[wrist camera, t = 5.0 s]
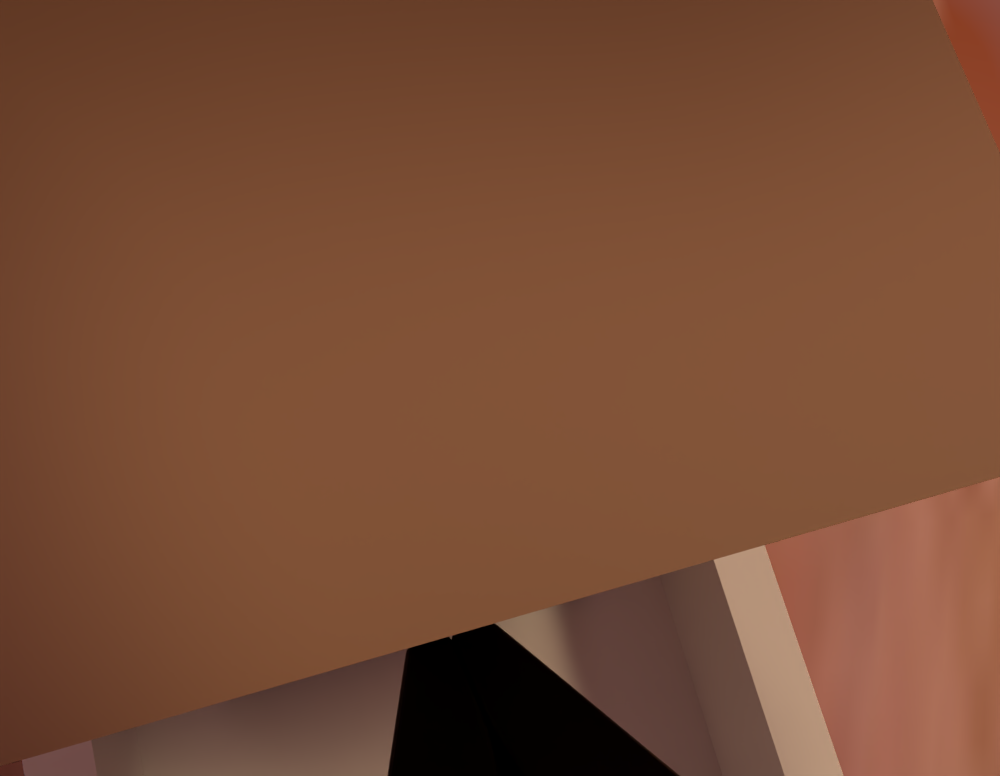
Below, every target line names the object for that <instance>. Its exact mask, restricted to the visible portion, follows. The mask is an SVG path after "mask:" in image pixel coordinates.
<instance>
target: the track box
mask: <svg viewBox="0 0 1000 776" xmlns="http://www.w3.org/2000/svg"><path fill="white" fill-rule="evenodd" d="M494 624H496V625H498V626H499V627H500V628H502V629H503V630H504V631H505V632H506V633H508V634H509V635H510V636H511V637H513V638H514V639H515V640H516V641H517V642H519V643H520V644H521V645H522V646H523V647H525V648H526V649H527V650H528V651H529V652H531V653H532V654H533V655H534V656H536V657H537V658H538V659H539V660H540V661H542V662H543V663H544V664H545V665H546V666H548V667H549V668H550V669H551V670H553V671H554V672H555V673H556V674H557V675H559V676H560V677H561V678H562V679H563V680H565V681H566V682H567V683H568V684H570V685H571V686H572V687H573V688H574V689H576V690H577V691H578V692H579V693H580V694H582V695H583V696H584V697H585V698H586V699H588V700H589V701H590V702H591V703H593V704H594V705H595V706H596V707H597V708H599V709H600V710H601V711H602V712H603V713H605V714H606V715H607V716H608V717H610V718H611V719H612V720H613V721H614V722H616V723H617V724H618V725H619V726H620V727H622V728H623V729H624V730H625V731H626V732H628V733H629V734H630V735H631V736H633V737H634V738H635V739H636V740H637V741H639V742H640V743H641V744H642V745H643V746H645V747H646V748H647V749H648V750H650V751H651V752H652V753H653V754H654V755H656V756H657V757H658V758H659V759H660V760H662V761H663V762H664V763H665V764H667V765H668V766H669V767H670V768H671V769H673V770H674V771H675V772H676V773H677V774H679V775H680V776H843V773H842V770H841V767H840V764H839V761H838V758H837V755H836V753H835V750H834V747H833V744H832V741H831V738H830V735H829V732H828V729H827V726H826V723H825V720H824V717H823V715H822V712H821V709H820V706H819V703H818V700H817V697H816V694H815V691H814V688H813V685H812V682H811V680H810V677H809V674H808V671H807V668H806V665H805V662H804V659H803V656H802V653H801V650H800V647H799V644H798V642H797V639H796V636H795V633H794V630H793V627H792V624H791V621H790V618H789V615H788V612H787V609H786V606H785V604H784V601H783V598H782V595H781V592H780V589H779V586H778V583H777V580H776V577H775V574H774V571H773V569H772V566H771V563H770V560H769V557H768V554H767V551H766V548H765V545H763V546H760V547H756V548H753V549H749V550H746V551H742V552H739V553H735V554H732V555H728V556H725V557H722V558H718V559H715V560H711V561H708V562H704V563H701V564H697V565H694V566H690V567H687V568H684V569H680V570H677V571H673V572H670V573H666V574H663V575H659V576H656V577H653V578H649V579H646V580H642V581H639V582H635V583H632V584H628V585H625V586H621V587H618V588H615V589H611V590H608V591H604V592H601V593H597V594H594V595H590V596H587V597H583V598H580V599H577V600H573V601H570V602H566V603H563V604H559V605H556V606H552V607H549V608H545V609H542V610H539V611H535V612H532V613H528V614H525V615H521V616H518V617H514V618H511V619H507V620H504V621H501V622H497V623H494ZM452 636H453V635H452ZM452 636H449V638H451V639H452ZM407 649H408V648H407ZM407 649H404V650H400V651H397V652H393V653H390V654H387V655H383V656H380V657H376V658H373V659H369V660H366V661H362V662H359V663H356V664H352V665H349V666H345V667H342V668H338V669H335V670H331V671H328V672H324V673H321V674H318V675H314V676H311V677H307V678H304V679H300V680H297V681H293V682H290V683H286V684H283V685H280V686H276V687H273V688H269V689H266V690H262V691H259V692H255V693H252V694H248V695H245V696H242V697H238V698H235V699H231V700H228V701H224V702H221V703H217V704H214V705H210V706H207V707H204V708H200V709H197V710H193V711H190V712H186V713H183V714H179V715H176V716H172V717H169V718H166V719H162V720H159V721H155V722H152V723H148V724H145V725H141V726H138V727H134V728H131V729H128V730H124V731H121V732H117V733H114V734H110V735H107V736H103V737H100V738H97V739H93V740H90V741H86V742H83V743H79V744H76V745H72V746H69V747H65V748H62V749H59V750H55V751H52V752H48V753H45V754H41V755H38V756H34V757H31V758H27V759H24V760H22V764H23V771H24V776H388V769H389V762H390V755H391V749H392V742H393V735H394V728H395V722H396V715H397V708H398V702H399V695H400V688H401V681H402V675H403V668H404V661H405V655H406V651H407Z"/></svg>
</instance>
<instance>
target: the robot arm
mask: <svg viewBox="0 0 1000 776" xmlns="http://www.w3.org/2000/svg"><path fill="white" fill-rule="evenodd" d="M388 776H680V775H679V774H677V773H676V772H675V771H674V770H673V769H671V768H670V767H669V766H668V765H667V764H665V763H664V762H663V761H662V760H660V759H659V758H658V757H657V756H656V755H654V754H653V753H652V752H651V751H650V750H648V749H647V748H646V747H645V746H643V745H642V744H641V743H640V742H639V741H637V740H636V739H635V738H634V737H633V736H631V735H630V734H629V733H628V732H626V731H625V730H624V729H623V728H622V727H620V726H619V725H618V724H617V723H616V722H614V721H613V720H612V719H611V718H610V717H608V716H607V715H606V714H605V713H603V712H602V711H601V710H600V709H599V708H597V707H596V706H595V705H594V704H593V703H591V702H590V701H589V700H588V699H586V698H585V697H584V696H583V695H582V694H580V693H579V692H578V691H577V690H576V689H574V688H573V687H572V686H571V685H570V684H568V683H567V682H566V681H565V680H563V679H562V678H561V677H560V676H559V675H557V674H556V673H555V672H554V671H553V670H551V669H550V668H549V667H548V666H546V665H545V664H544V663H543V662H542V661H540V660H539V659H538V658H537V657H536V656H534V655H533V654H532V653H531V652H529V651H528V650H527V649H526V648H525V647H523V646H522V645H521V644H520V643H519V642H517V641H516V640H515V639H514V638H513V637H511V636H510V635H509V634H508V633H506V632H505V631H504V630H503V629H502V628H500V627H499V626H498V625H496V624H490V625H487V626H483V627H480V628H476V629H473V630H469V631H466V632H463V633H459V634H456V635H453V636H452V639H451V638H449V637H445V638H442V639H438V640H435V641H431V642H428V643H425V644H421V645H418V646H414V647H411V648H408V649H407V651H406V655H405V661H404V668H403V675H402V681H401V688H400V695H399V702H398V708H397V715H396V722H395V728H394V735H393V742H392V749H391V755H390V762H389V769H388Z"/></svg>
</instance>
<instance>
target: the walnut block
mask: <svg viewBox="0 0 1000 776" xmlns="http://www.w3.org/2000/svg"><path fill="white" fill-rule="evenodd" d="M998 477H1000V152H999V150H998V148H997V146H996V143H995V141H994V139H993V136H992V134H991V132H990V130H989V128H988V125H987V123H986V121H985V118H984V116H983V114H982V111H981V109H980V107H979V105H978V102H977V100H976V98H975V96H974V93H973V91H972V89H971V87H970V84H969V82H968V80H967V78H966V75H965V73H964V71H963V69H962V66H961V64H960V62H959V60H958V57H957V55H956V53H955V50H954V48H953V46H952V44H951V41H950V39H949V37H948V35H947V32H946V30H945V28H944V25H943V23H942V21H941V19H940V16H939V14H938V12H937V10H936V7H935V5H934V3H933V1H932V0H0V766H3V765H7V764H10V763H14V762H17V761H21V760H24V759H27V758H31V757H34V756H38V755H41V754H45V753H48V752H52V751H55V750H59V749H62V748H65V747H69V746H72V745H76V744H79V743H83V742H86V741H90V740H93V739H97V738H100V737H103V736H107V735H110V734H114V733H117V732H121V731H124V730H128V729H131V728H134V727H138V726H141V725H145V724H148V723H152V722H155V721H159V720H162V719H166V718H169V717H172V716H176V715H179V714H183V713H186V712H190V711H193V710H197V709H200V708H204V707H207V706H210V705H214V704H217V703H221V702H224V701H228V700H231V699H235V698H238V697H242V696H245V695H248V694H252V693H255V692H259V691H262V690H266V689H269V688H273V687H276V686H280V685H283V684H286V683H290V682H293V681H297V680H300V679H304V678H307V677H311V676H314V675H318V674H321V673H324V672H328V671H331V670H335V669H338V668H342V667H345V666H349V665H352V664H356V663H359V662H362V661H366V660H369V659H373V658H376V657H380V656H383V655H387V654H390V653H393V652H397V651H400V650H404V649H407V648H411V647H414V646H418V645H421V644H425V643H428V642H431V641H435V640H438V639H442V638H445V637H449V636H452V635H456V634H459V633H463V632H466V631H469V630H473V629H476V628H480V627H483V626H487V625H490V624H494V623H497V622H501V621H504V620H507V619H511V618H514V617H518V616H521V615H525V614H528V613H532V612H535V611H539V610H542V609H545V608H549V607H552V606H556V605H559V604H563V603H566V602H570V601H573V600H577V599H580V598H583V597H587V596H590V595H594V594H597V593H601V592H604V591H608V590H611V589H615V588H618V587H621V586H625V585H628V584H632V583H635V582H639V581H642V580H646V579H649V578H653V577H656V576H659V575H663V574H666V573H670V572H673V571H677V570H680V569H684V568H687V567H690V566H694V565H697V564H701V563H704V562H708V561H711V560H715V559H718V558H722V557H725V556H728V555H732V554H735V553H739V552H742V551H746V550H749V549H753V548H756V547H760V546H763V545H766V544H770V543H773V542H777V541H780V540H784V539H787V538H791V537H794V536H798V535H801V534H804V533H808V532H811V531H815V530H818V529H822V528H825V527H829V526H832V525H836V524H839V523H842V522H846V521H849V520H853V519H856V518H860V517H863V516H867V515H870V514H874V513H877V512H880V511H884V510H887V509H891V508H894V507H898V506H901V505H905V504H908V503H912V502H915V501H918V500H922V499H925V498H929V497H932V496H936V495H939V494H943V493H946V492H950V491H953V490H956V489H960V488H963V487H967V486H970V485H974V484H977V483H981V482H984V481H987V480H991V479H994V478H998Z"/></svg>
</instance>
